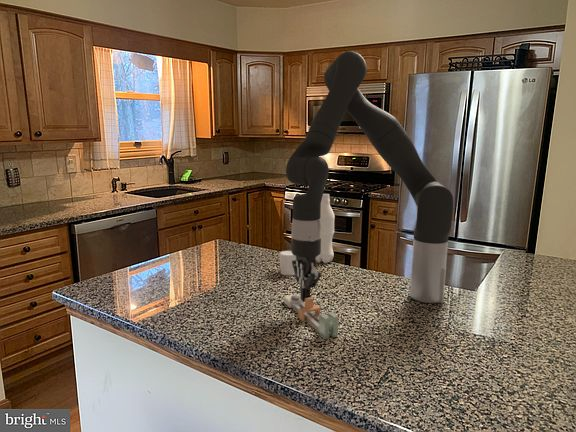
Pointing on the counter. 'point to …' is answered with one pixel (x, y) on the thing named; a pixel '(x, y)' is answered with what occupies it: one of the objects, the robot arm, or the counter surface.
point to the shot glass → (286, 262)
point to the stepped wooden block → (309, 308)
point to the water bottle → (326, 230)
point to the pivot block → (292, 300)
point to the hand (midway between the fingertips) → (305, 300)
